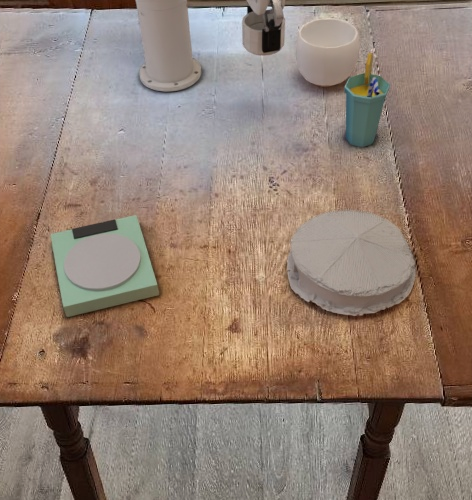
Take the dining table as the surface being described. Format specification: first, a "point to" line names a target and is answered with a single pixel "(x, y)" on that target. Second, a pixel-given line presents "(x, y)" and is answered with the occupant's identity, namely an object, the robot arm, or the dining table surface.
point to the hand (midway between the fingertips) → (263, 38)
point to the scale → (103, 265)
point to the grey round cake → (350, 262)
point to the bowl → (257, 33)
